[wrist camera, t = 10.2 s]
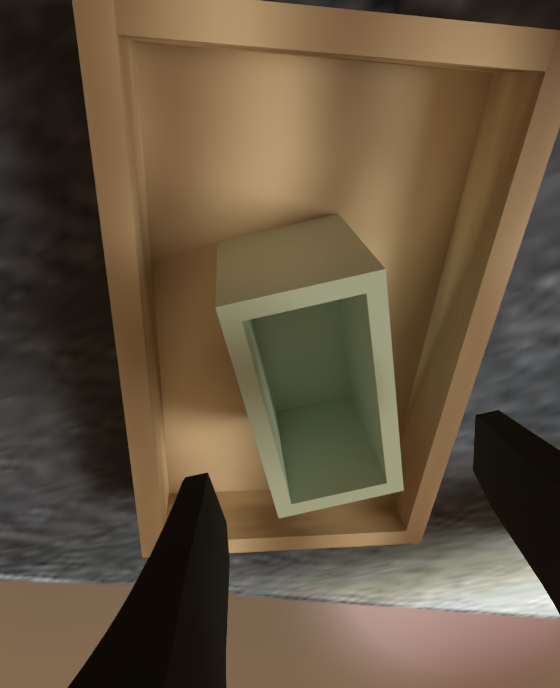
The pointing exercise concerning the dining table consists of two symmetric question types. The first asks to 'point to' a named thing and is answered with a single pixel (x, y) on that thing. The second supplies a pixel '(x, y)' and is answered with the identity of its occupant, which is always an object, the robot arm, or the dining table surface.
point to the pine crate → (305, 219)
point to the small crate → (313, 361)
